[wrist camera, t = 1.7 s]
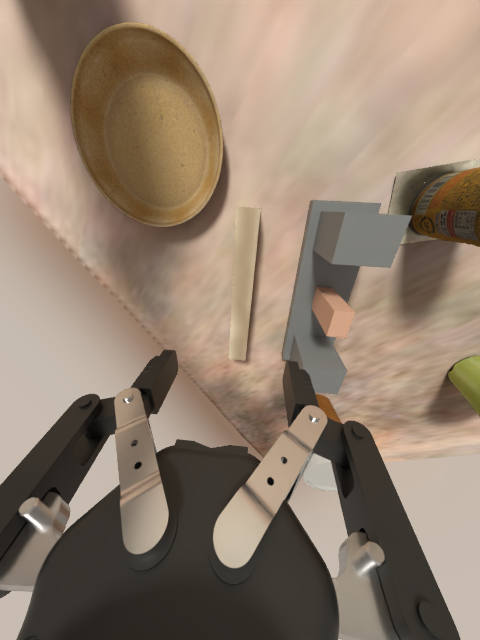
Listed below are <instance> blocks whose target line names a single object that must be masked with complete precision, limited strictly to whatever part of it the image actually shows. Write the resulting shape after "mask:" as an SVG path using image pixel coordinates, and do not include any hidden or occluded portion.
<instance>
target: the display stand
mask: <svg viewBox="0 0 480 640" xmlns="http://www.w3.org/2000/svg"><path fill="white" fill-rule="evenodd" d="M380 206H381V203H362V202H342V201H321V200H311V201H310V205H309V211H308V216H307V221H306V227H305V232H304V237H303V243H302V248H301V253H300V259H299V264H298V269H297V275H296V280H295V285H294V290H293V296H292V301H291V306H290V312H289V317H288V322H287V328H286V333H285V338H284V344H283V349H282V359H283V360H291V361H297V362H298V365H299V368H300V369H304V370H306V372H307V373H308V374H309V375H310V378H311V383H312V385H313V388H314V391H315V392H319V393H329V394H338V391H339V389H340V387H341V384H342V382H343V380H344V377H345V375H346V372H347V370H346V368H345V366H344V364H343V362H342V360H341V359H340V357H339V355H338V353H337V351H336V349H335V348H334V346H333V344H334V341H335V338H336V337H342V338H346V336H347V334H348V331H349V328H350V325H351V323H352V320H353V317H354V315H355V312H354V311H353V310H352V309H351V307H350V306H349V305H348V304H347V303H348V300H349V297H350V294H351V291H352V288H353V285H354V282H355V279H356V276H357V273H358V270H359V268H360V266H370V267H386V268H390V267H391V265H392V262H393V260H394V258H395V255H396V253H397V250H398V248H399V246H400V243H401V241H402V239H403V236H404V234H405V231H406V229H407V227H408V224H409V222H410V219H411V217H412V216H410V215H390V214H378V212H379V209H380Z"/></svg>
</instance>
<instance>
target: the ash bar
mask: <svg viewBox="0 0 480 640" xmlns="http://www.w3.org/2000/svg"><path fill="white" fill-rule="evenodd" d="M260 211H261V209H260V208H247V207H236V219H235V240H234V261H233V282H232V303H231V324H230V345H229V359H235V360H244V361H245V359H246V349H247V339H248V329H249V319H250V309H251V300H252V290H253V280H254V270H255V260H256V250H257V240H258V230H259V221H260Z"/></svg>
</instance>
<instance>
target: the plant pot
mask: <svg viewBox="0 0 480 640" xmlns="http://www.w3.org/2000/svg"><path fill="white" fill-rule="evenodd" d="M448 377H449V380H450V381H451V382H452V383H453V384H454V386H455V387H456V388H457V389H458V390H459V391H460V393H461V394H462V395H463V396H464V397H465V399H466V400H467V401H468V402H469V403H470V405H471V406H472V407H473V408H474V409H475V411H476V412H477V413H478V414H479V416H480V356H473V357H469V358H466V359H464V360H461V361H460V362H458V363H456V364H455V365H454V368H453V369H452V371H450V372H449V373H448Z"/></svg>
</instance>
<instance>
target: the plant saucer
mask: <svg viewBox="0 0 480 640" xmlns="http://www.w3.org/2000/svg"><path fill="white" fill-rule="evenodd" d="M70 105H71V120H72V127H73V132H74V137H75V141H76V144H77V148H78V150H79V153H80V156H81V158H82V161H83V163H84V165H85V167H86V169H87V171H88V173H89V175H90V176H91V178H92V180H93V181H94V183H95V185H96V186H97V187H98V189H99V190H100V191H101V193H102V194H103V195H104V196H105V197H106V198H107V200H108V201H109V202H110V203H112V204H113V205H114V206H115V207H116V208H117V209H118V210H120V211H121V212H122V213H124V214H125V215H127V216H128V217H130V218H132V219H134V220H136V221H138V222H140V223H143V224H146V225H150V226H155V227H170V226H175V225H179V224H181V223H184V222H186V221H188V220H190V219H191V218H193V217H194V216H195V215H197V214H198V213H199V212H200V211H201V210H202V209H203V208H204V206H205V205H206V204H207V202H208V201H209V200H210V198H211V196H212V194H213V192H214V190H215V188H216V185H217V182H218V179H219V176H220V171H221V165H222V158H223V134H222V126H221V120H220V115H219V111H218V107H217V104H216V100H215V97H214V94H213V92H212V90H211V87H210V85H209V83H208V81H207V79H206V77H205V75H204V73H203V72H202V70H201V69H200V67H199V65H198V64H197V62H196V61H195V60H194V59H193V57H192V56H191V55H190V54H189V53H188V52H187V50H186V49H185V48H184V47H183V46H182V45H181V44H180V43H179V42H178V41H176V40H175V39H174V38H172V37H171V36H169V35H168V34H167V33H165V32H163V31H161V30H159V29H157V28H155V27H153V26H150V25H145V24H143V23H136V22H125V23H121V24H116V25H114V26H110V27H108V28H106V29H104V30H102V31H101V32H99V33H98V34H97V35H96V36H95V37H94V38H93V39H92V40H91V41H90V42H89V44H88V45H87V46H86V48H85V50H84V51H83V53H82V55H81V57H80V59H79V62H78V64H77V66H76V69H75V72H74V76H73V80H72V87H71V100H70Z"/></svg>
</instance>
